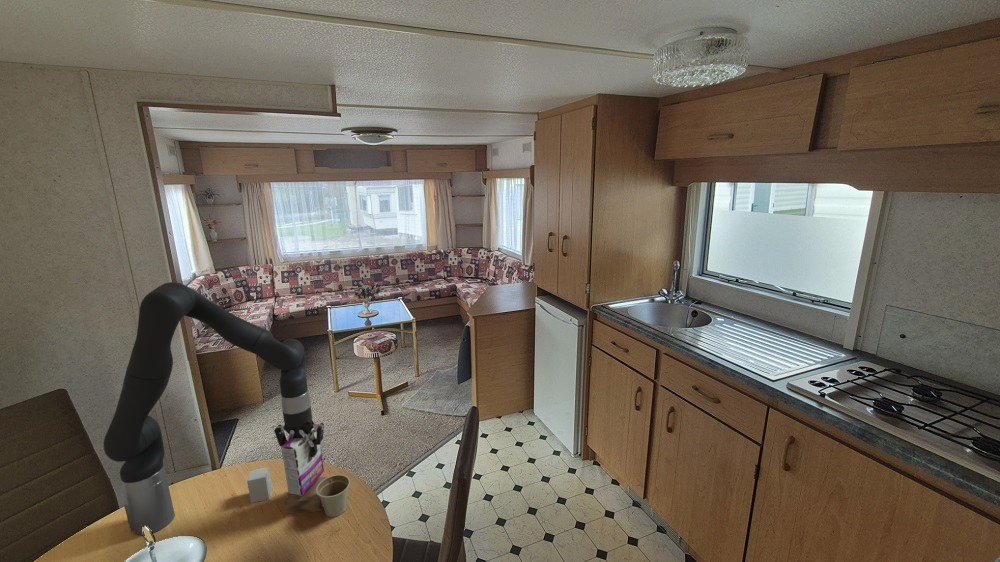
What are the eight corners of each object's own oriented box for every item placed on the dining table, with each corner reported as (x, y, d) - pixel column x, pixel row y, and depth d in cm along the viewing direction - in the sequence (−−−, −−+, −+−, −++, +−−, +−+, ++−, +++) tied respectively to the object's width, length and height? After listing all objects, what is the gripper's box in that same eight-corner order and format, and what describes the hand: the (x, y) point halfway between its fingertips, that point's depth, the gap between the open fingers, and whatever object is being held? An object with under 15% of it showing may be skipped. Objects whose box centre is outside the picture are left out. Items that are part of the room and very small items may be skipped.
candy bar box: (310, 469, 134) (305, 424, 130) (324, 471, 133) (319, 426, 129) (287, 494, 124) (280, 446, 120) (301, 497, 123) (295, 448, 119)
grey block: (251, 502, 129) (247, 480, 127) (254, 491, 134) (250, 470, 132) (268, 499, 130) (265, 477, 129) (271, 488, 135) (268, 466, 133)
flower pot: (324, 527, 120) (321, 502, 118) (315, 508, 127) (312, 483, 125) (357, 511, 125) (354, 486, 123) (346, 493, 133) (343, 470, 130)
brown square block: (286, 512, 125) (284, 501, 124) (299, 488, 135) (298, 478, 134) (320, 511, 126) (318, 499, 125) (331, 487, 135) (329, 476, 134)
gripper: (265, 414, 118) (273, 465, 122) (316, 412, 119) (323, 463, 123) (277, 400, 126) (284, 449, 129) (325, 398, 126) (331, 447, 130)
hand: (303, 455), depth 126 cm, fingers closed on candy bar box, 5 cm apart
